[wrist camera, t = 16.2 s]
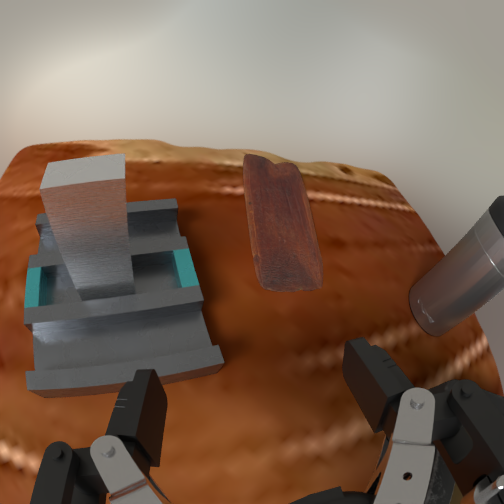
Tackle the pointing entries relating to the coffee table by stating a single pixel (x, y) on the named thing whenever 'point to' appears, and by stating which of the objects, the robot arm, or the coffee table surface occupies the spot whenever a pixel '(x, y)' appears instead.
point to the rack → (119, 314)
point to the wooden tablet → (281, 226)
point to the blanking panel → (91, 223)
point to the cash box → (441, 481)
